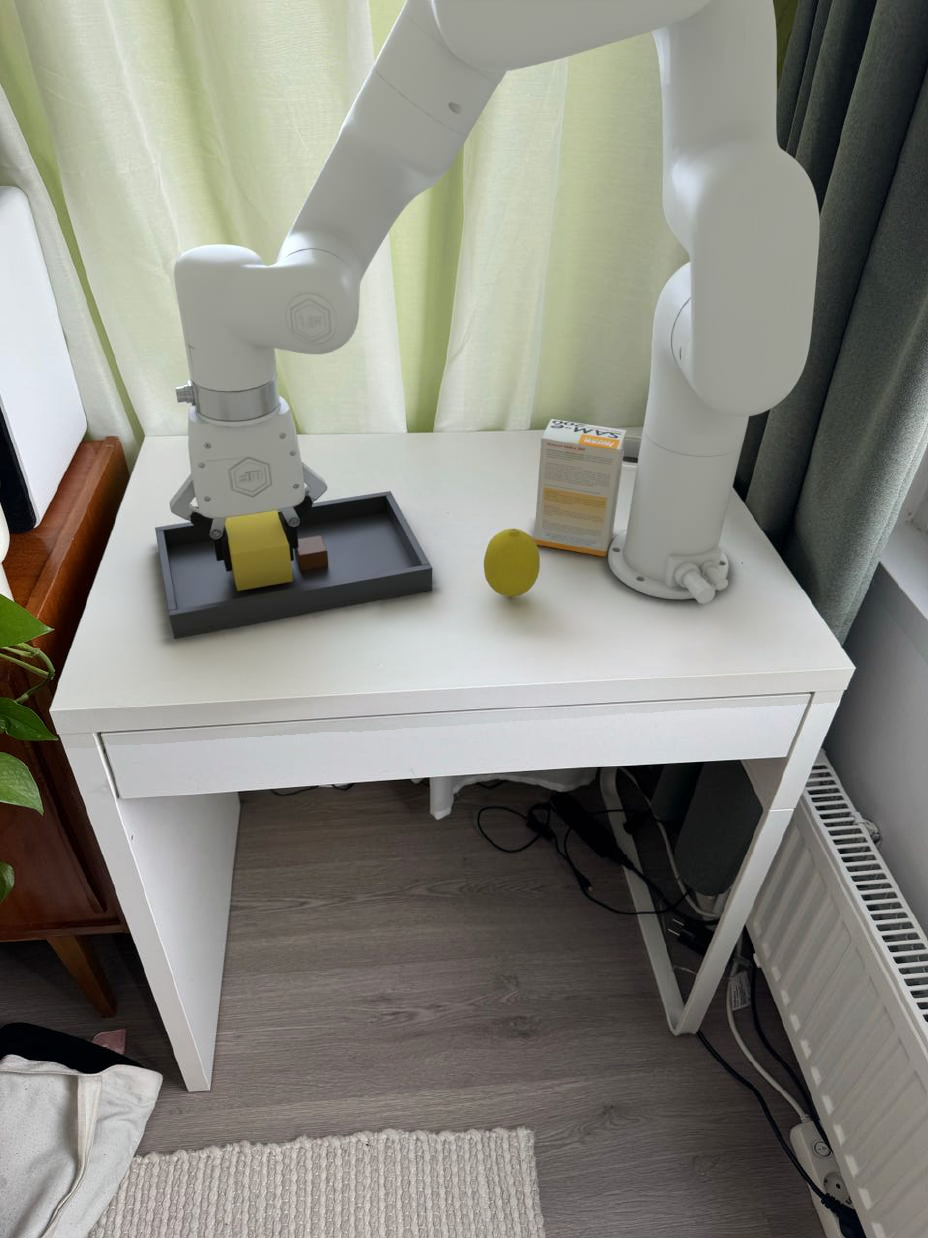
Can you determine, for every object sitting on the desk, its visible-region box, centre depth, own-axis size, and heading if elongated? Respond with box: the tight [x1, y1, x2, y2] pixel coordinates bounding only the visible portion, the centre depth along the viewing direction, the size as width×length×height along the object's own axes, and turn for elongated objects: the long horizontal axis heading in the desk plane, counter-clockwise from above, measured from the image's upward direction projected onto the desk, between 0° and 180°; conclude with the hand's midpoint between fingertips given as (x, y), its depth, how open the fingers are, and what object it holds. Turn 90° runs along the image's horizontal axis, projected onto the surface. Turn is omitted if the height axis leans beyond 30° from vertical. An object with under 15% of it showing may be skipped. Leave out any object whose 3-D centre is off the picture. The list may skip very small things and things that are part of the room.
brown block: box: [294, 535, 329, 571], centre depth 96 cm, size 3×3×2 cm
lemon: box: [483, 528, 541, 598], centre depth 92 cm, size 6×6×8 cm
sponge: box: [225, 510, 293, 591], centre depth 94 cm, size 8×6×4 cm
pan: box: [154, 490, 433, 639], centre depth 96 cm, size 16×26×3 cm, turn 109°
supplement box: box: [533, 418, 627, 558], centre depth 98 cm, size 8×5×13 cm, turn 73°
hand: (258, 557), depth 94 cm, fingers closed on sponge, 5 cm apart
